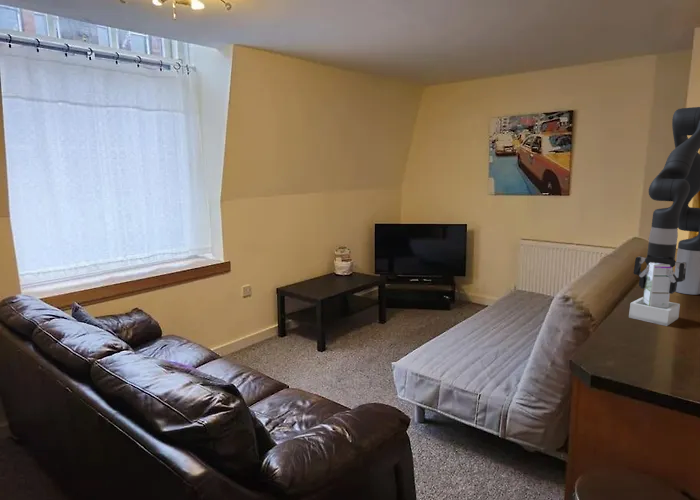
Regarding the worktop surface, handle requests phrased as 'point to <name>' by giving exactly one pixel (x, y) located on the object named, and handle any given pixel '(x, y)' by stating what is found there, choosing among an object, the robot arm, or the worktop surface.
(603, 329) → the worktop surface
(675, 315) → the bin
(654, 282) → the syrup box
